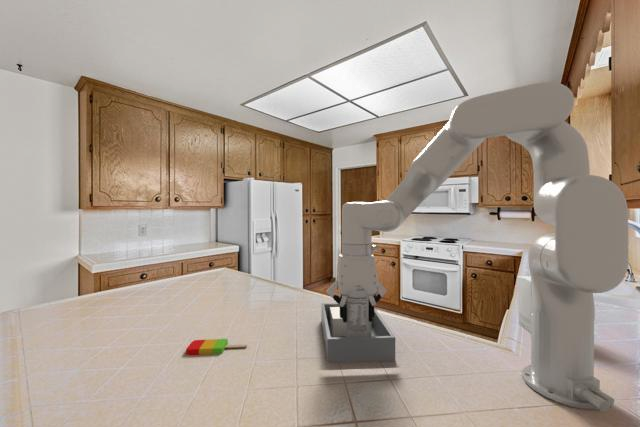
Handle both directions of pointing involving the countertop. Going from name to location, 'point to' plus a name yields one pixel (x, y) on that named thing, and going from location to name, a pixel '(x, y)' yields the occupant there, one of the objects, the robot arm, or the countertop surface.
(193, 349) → the popsicle
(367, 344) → the grocery crate
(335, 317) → the cream white box
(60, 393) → the countertop surface
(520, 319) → the skincare box
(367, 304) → the energy drink can
